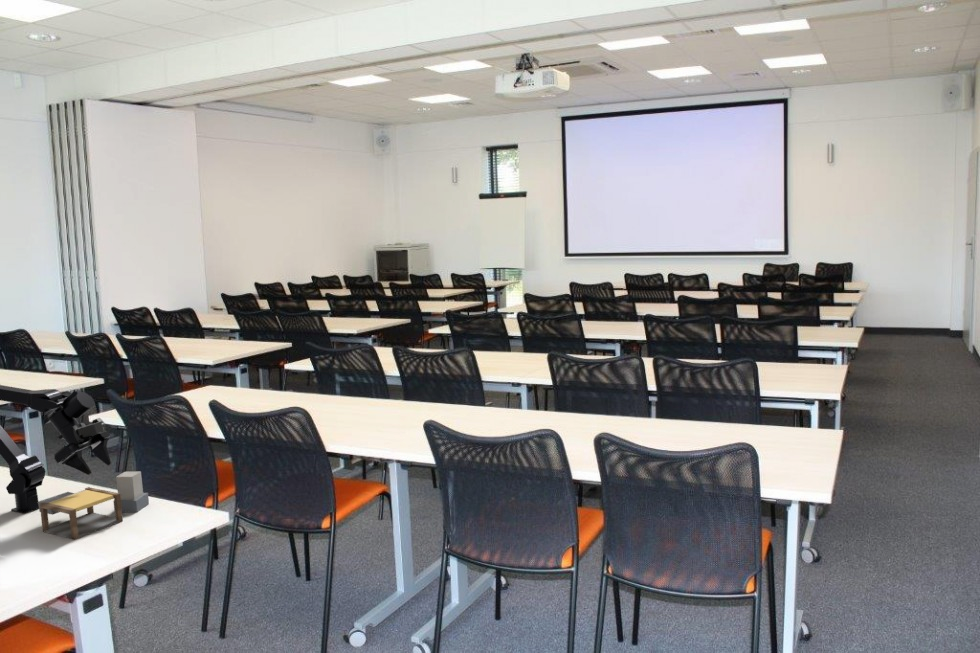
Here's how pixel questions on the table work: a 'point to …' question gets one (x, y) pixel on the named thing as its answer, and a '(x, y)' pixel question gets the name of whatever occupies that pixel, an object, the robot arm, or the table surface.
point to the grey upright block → (129, 485)
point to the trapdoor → (77, 500)
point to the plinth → (134, 504)
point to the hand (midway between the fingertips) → (100, 469)
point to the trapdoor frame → (80, 518)
